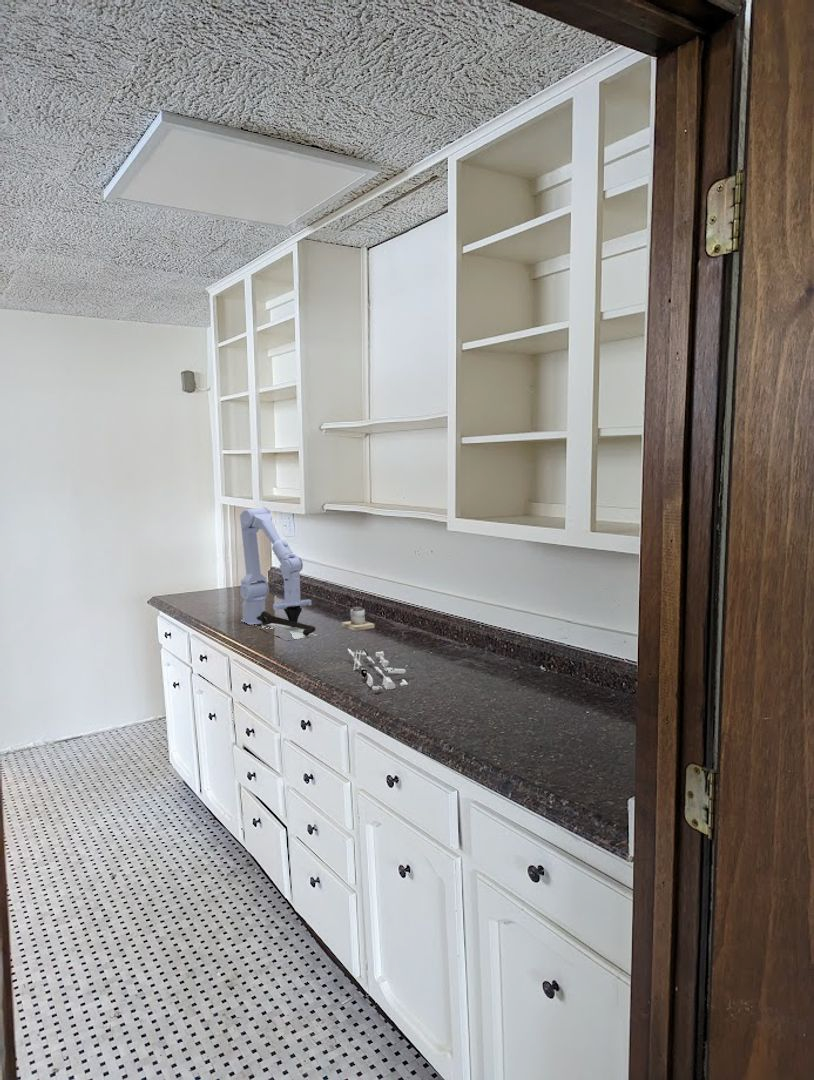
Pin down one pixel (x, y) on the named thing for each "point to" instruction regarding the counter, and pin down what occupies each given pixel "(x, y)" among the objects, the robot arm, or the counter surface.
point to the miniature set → (386, 681)
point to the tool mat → (291, 631)
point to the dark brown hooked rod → (284, 622)
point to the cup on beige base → (358, 620)
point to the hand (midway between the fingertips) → (293, 626)
